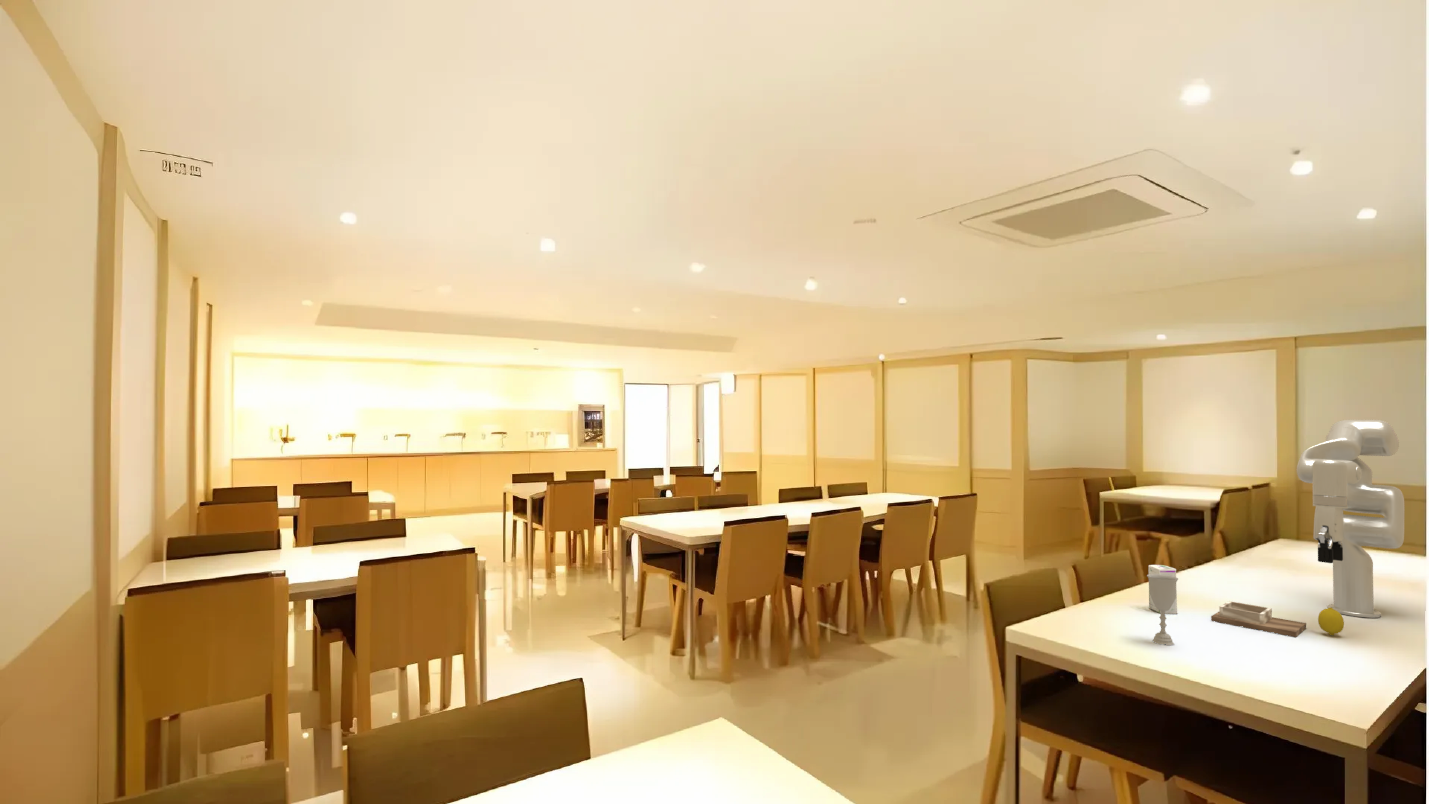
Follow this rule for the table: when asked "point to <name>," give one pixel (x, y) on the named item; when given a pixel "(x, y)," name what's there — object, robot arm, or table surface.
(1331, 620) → the lemon
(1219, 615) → the serving board
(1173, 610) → the syrup box
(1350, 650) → the table surface
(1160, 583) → the chalice
